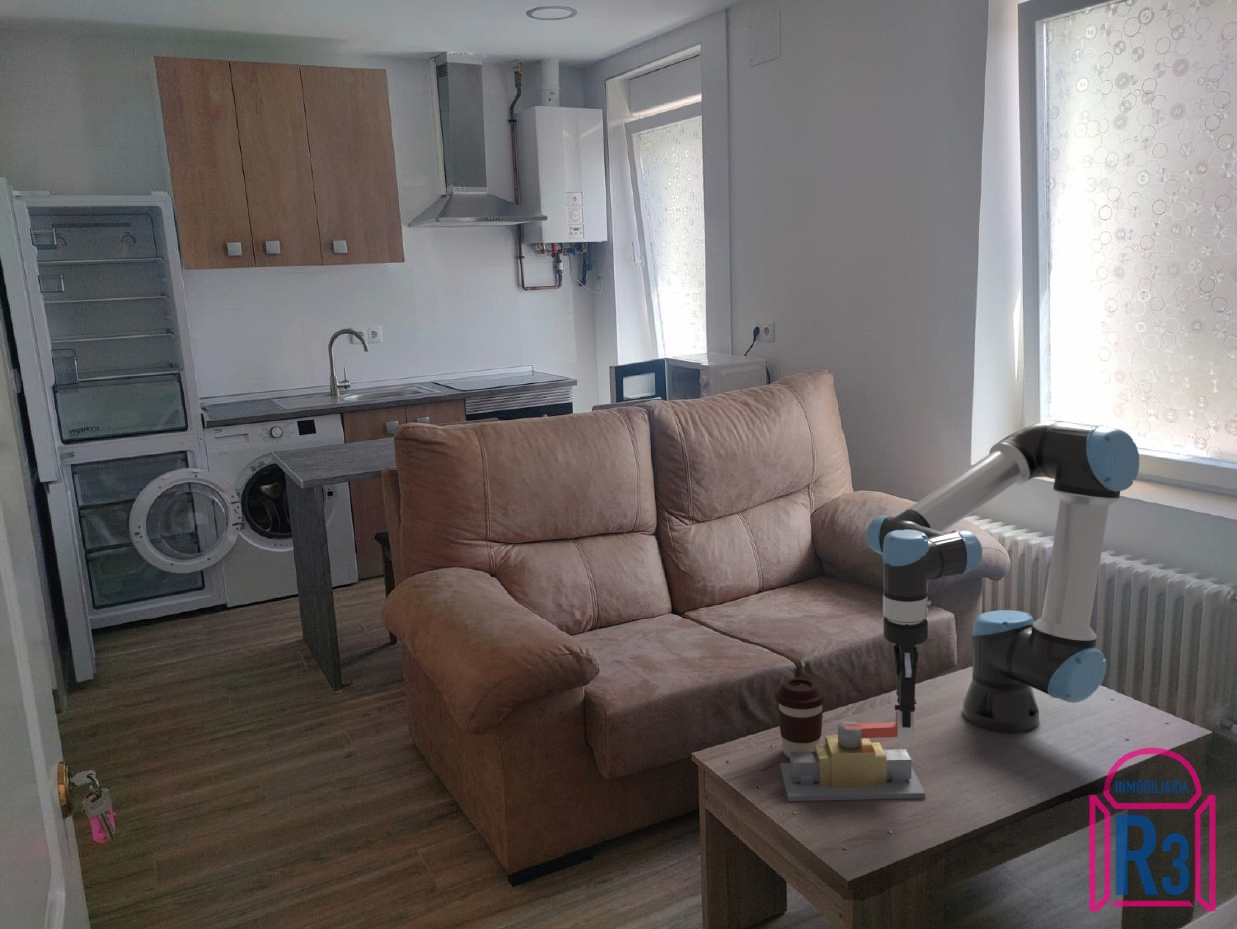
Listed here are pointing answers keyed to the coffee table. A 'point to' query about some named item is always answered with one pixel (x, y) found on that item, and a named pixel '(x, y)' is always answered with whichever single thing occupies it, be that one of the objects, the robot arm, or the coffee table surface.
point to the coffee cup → (800, 714)
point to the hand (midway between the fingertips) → (905, 740)
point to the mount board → (850, 789)
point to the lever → (865, 732)
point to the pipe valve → (850, 765)
